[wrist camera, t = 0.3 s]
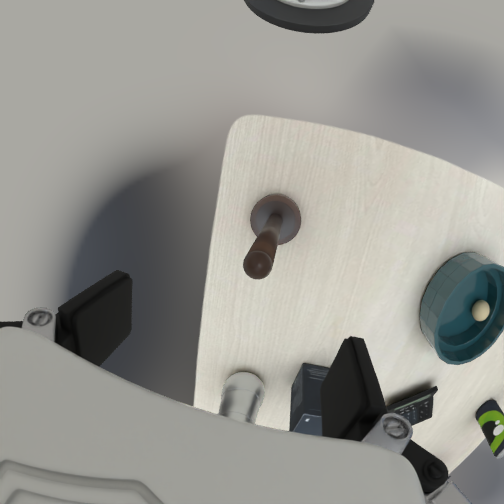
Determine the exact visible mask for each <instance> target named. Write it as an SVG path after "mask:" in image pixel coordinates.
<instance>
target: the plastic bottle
mask: <svg viewBox="0 0 504 504" xmlns="http://www.w3.org/2000/svg"><path fill="white" fill-rule="evenodd" d="M264 396H265V391H264V384H263V383H262V381H261V380H260V379H259V378H258V377H257V376H256V375H254V374H252V373H248V372H239V373H236V374H233V375H231V376H230V377H229V378H228V379H227V380H226V382H225V384H224V385H223V389H222V395H221V404H220V409H219V413H218V415H222V416H225V417H229V418H232V419H236V420H240V421H244V422H248V423H252V424H255V421H256V418H257V414H258V411H259V408H260V406H261V404H262V402H263V399H264Z"/></svg>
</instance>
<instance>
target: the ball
mask: <svg viewBox="0 0 504 504" xmlns="http://www.w3.org/2000/svg"><path fill="white" fill-rule="evenodd" d="M489 312H490V308H489V305H488V303H487V302H486V301H484V300H479V301H477V302H476V303H475V304H474V306H473V308H472V315H473V317H474V319H475V320H477V321H483V320H485V319H486V318H487V317H488V315H489Z"/></svg>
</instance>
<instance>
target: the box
mask: <svg viewBox="0 0 504 504" xmlns="http://www.w3.org/2000/svg"><path fill="white" fill-rule="evenodd" d="M329 369H330V368H325V367H320V366H315V365H311V364H306V363H303V365H302V367H301V369H300V371H299V373H298V375H297V377H296V379H295V381H294V383H293V385H292V388H291V411H290V429H289V431H291V432H296V433H302V434H308V435H315V436H322V418H321V400H320V388H321V384H322V382H323V381H324V379H325V377H326V375H327V373H328V371H329Z"/></svg>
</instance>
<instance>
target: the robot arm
mask: <svg viewBox="0 0 504 504" xmlns="http://www.w3.org/2000/svg"><path fill="white" fill-rule="evenodd" d="M278 1H280V2H282V3H285V4H288V5H291V6H295V7H299V8H306V9H327V8H333V7H336V6H339V5H342V4H344V3H345V2H347V1H348V0H278ZM131 308H132V279H131V278H130V276H129V274H127V273H124V272H122V271H119V270H116V271H114V272H113V273H111V274H110V275H108V276H106V277H105V278H103V279H102V280H100V281H98V282H97V283H95V284H94V285H92V286H90V287H89V288H87V289H86V290H84V291H83V292H81V293H80V294H78V295H77V296H75V297H74V298H72V299H70V300H69V301H68V302H66V303H64V304H63V305H61V306H60V307H58V311H59V313H57V314H55V313H54V311H52V310H50V309H48V308H43V307H40V308H34V309H32V310H30V311H28V312H27V313H26V314H25V317H24V321H16V322H0V504H472V503H471V502H470V501H469V500H468V499H467V498H466V497H465V495H464V494H463V493H462V492H461V491H460V490H459V488H458V487H457V486H456V485H455V484H454V483H453V482H452V481H450V482H448V481H447V478H448V470H447V467H446V465H445V464H444V463H443V462H442V461H441V460H440V459H438V458H437V457H435V456H434V455H432V454H431V453H429V452H428V451H426V450H425V449H424V448H422V447H421V446H419V445H418V444H416V443H415V442H414V441H412V440H411V437H412V434H413V429H412V426H411V424H410V422H409V421H408V420H407V419H406V418H405V417H403V416H401V415H399V414H396V413H388V412H387V408H386V405H385V402H384V398H383V395H382V392H381V388H380V385H379V382H378V379H377V376H376V373H375V371H374V368H373V365H372V362H371V359H370V356H369V353H368V350H367V347H366V344H365V342H364V339H362V338H357V337H352V336H350V337H349V338H348V339H344V341H343V343H342V345H341V347H340V349H339V351H338V353H337V355H336V357H335V359H334V361H333V363H332V365H331V367H330V369H329V371H328V373H327V375H326V377H325V379H324V381H323V382H322V384H321V388H320V400H321V418H322V436H315V435H308V434H302V433H296V432H291V431H285V430H280V429H275V428H270V427H265V426H261V425H256V424H252V423H248V422H244V421H240V420H236V419H232V418H229V417H225V416H222V415H218V414H215V413H211V412H208V411H205V410H202V409H199V408H196V407H193V406H190V405H187V404H184V403H181V402H178V401H175V400H173V399H170V398H168V397H165V396H162V395H160V394H157V393H155V392H152V391H150V390H148V389H145V388H143V387H141V386H138V385H136V384H134V383H131V382H129V381H127V380H125V379H123V378H120V377H118V376H116V375H114V374H112V373H110V372H108V371H106V370H104V369H102V368H100V367H99V366H100V365H101V364H102V363H103V362H104V361H105V360H106V359H107V358H108V357H109V356H110V355H111V353H112V352H113V351H114V350H115V349H116V348H117V347H118V346H119V345H120V344H121V343H122V342H123V340H125V339H126V338H127V337H128V335H129V334H130V332H131V314H132V313H131V312H132V309H131Z"/></svg>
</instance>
